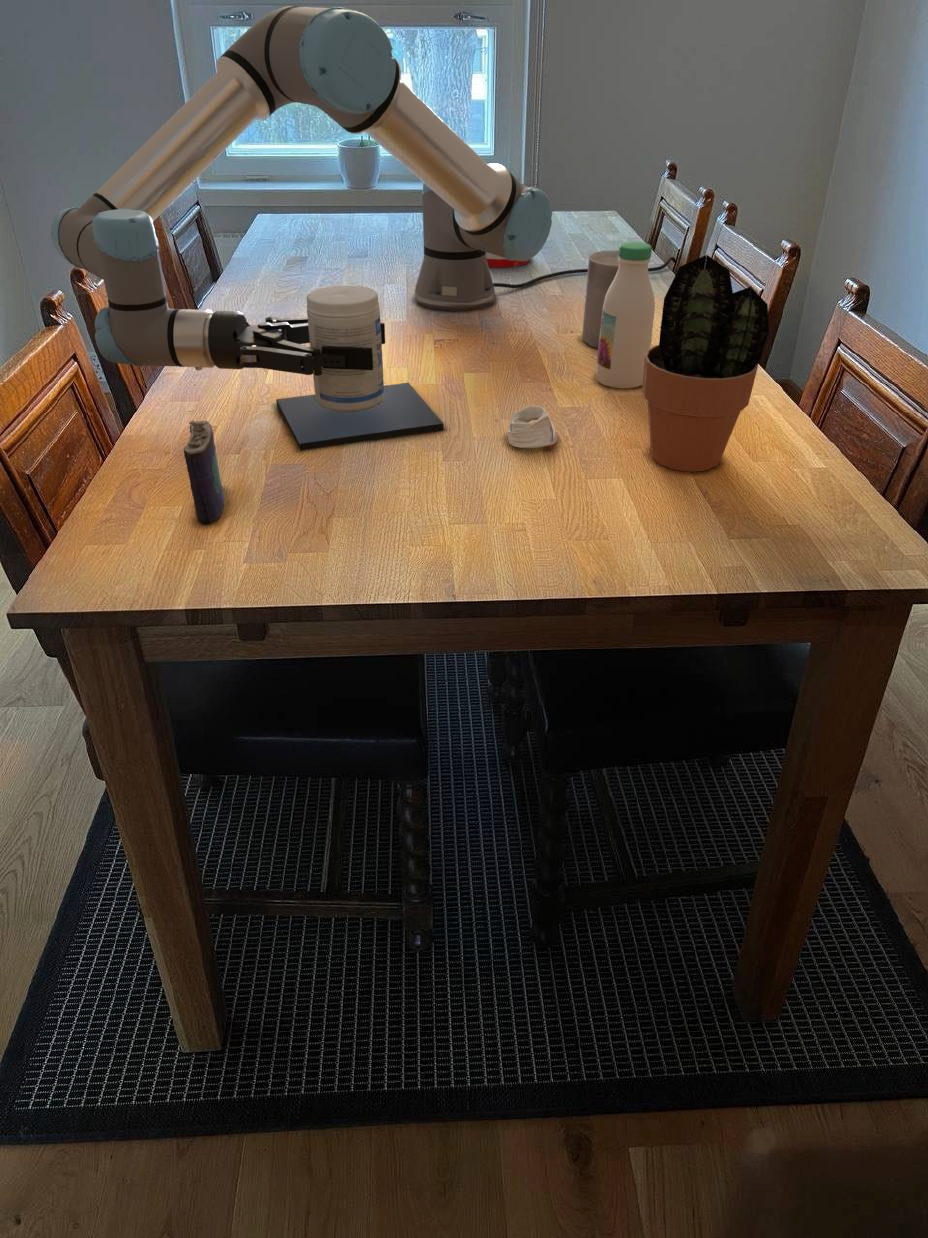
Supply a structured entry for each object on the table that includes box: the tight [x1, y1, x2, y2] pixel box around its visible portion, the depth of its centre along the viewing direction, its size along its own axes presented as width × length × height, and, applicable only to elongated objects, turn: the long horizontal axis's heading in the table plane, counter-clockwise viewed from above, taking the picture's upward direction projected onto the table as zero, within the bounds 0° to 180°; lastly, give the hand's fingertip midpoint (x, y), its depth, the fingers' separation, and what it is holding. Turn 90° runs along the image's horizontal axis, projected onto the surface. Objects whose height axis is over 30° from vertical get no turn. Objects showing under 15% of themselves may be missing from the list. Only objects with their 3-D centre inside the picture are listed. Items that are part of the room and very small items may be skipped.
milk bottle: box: [595, 241, 656, 389], centre depth 136 cm, size 8×8×20 cm
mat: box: [275, 382, 444, 452], centre depth 129 cm, size 20×16×1 cm
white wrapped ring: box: [507, 405, 558, 449], centre depth 122 cm, size 8×7×5 cm
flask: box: [183, 419, 225, 526], centre depth 104 cm, size 9×3×11 cm, turn 8°
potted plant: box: [641, 254, 770, 473], centre depth 112 cm, size 14×14×25 cm
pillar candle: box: [581, 249, 619, 349], centre depth 152 cm, size 10×10×15 cm
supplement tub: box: [306, 284, 385, 413], centre depth 123 cm, size 10×10×15 cm
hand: (378, 345), depth 122 cm, fingers closed on supplement tub, 9 cm apart
